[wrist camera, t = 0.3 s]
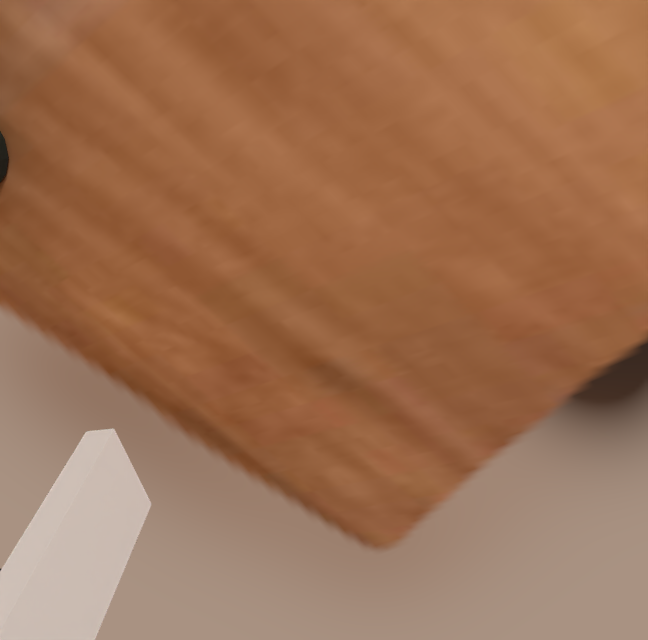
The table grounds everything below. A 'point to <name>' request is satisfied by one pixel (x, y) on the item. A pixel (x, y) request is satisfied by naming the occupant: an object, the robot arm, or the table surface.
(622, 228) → the table surface
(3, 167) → the potion bottle
